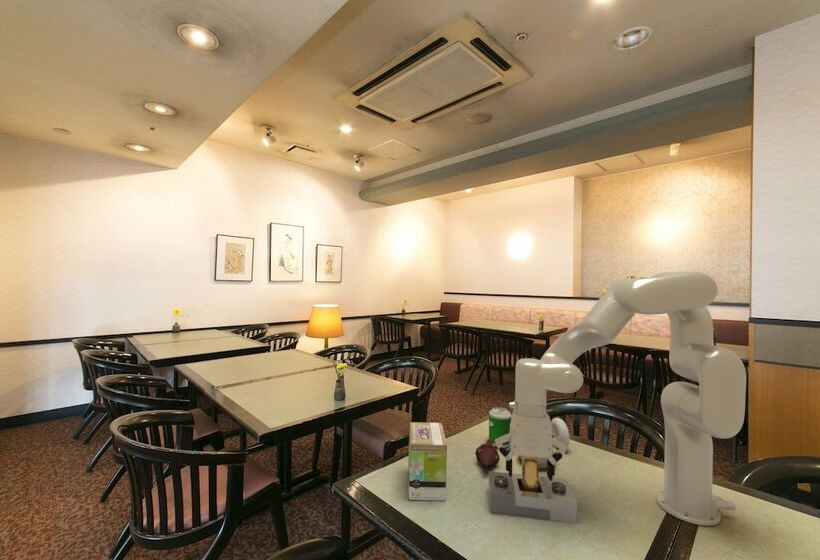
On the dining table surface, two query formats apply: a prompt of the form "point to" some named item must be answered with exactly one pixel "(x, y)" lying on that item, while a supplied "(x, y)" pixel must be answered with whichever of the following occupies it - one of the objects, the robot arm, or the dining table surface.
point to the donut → (560, 431)
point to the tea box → (427, 461)
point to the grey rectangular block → (532, 498)
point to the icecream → (487, 454)
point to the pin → (530, 474)
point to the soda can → (499, 424)
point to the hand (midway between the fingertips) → (529, 475)
